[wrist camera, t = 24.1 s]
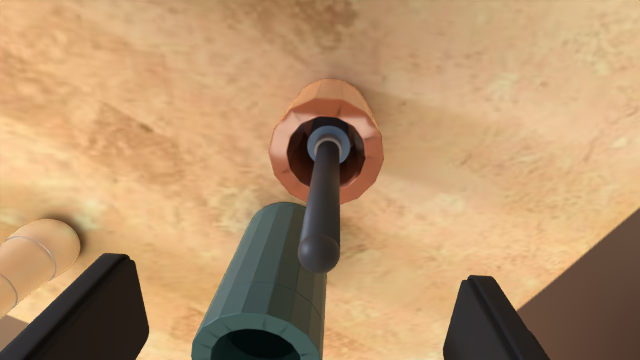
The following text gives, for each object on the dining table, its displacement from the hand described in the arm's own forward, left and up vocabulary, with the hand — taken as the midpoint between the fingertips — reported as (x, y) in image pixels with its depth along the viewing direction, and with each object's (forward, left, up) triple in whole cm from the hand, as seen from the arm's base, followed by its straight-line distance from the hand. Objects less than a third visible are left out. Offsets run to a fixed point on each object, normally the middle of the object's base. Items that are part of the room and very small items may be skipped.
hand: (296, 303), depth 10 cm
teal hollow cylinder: (+14, -4, -25) cm, 29 cm away
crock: (0, 0, -25) cm, 25 cm away
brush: (0, +1, -24) cm, 24 cm away
